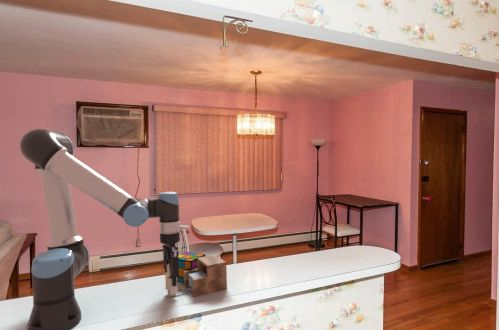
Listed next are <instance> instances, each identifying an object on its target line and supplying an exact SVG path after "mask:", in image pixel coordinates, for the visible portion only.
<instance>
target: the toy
mask: <svg viewBox="0 0 499 330" xmlns="http://www.w3.org/2000/svg"><path fill="white" fill-rule="evenodd" d="M205 256H206V253H197V252H191V251H183V252H182V253H179V255H178V262H179V277H177V283H182V284H184V271H187V270H192V269H197V258H200V257H205Z"/></svg>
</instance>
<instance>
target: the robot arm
mask: <svg viewBox="0 0 499 330" xmlns="http://www.w3.org/2000/svg"><path fill="white" fill-rule="evenodd" d="M19 143H20V144H19V149H20V152H21V154H22V155H23V157H24V158H25V159H26V160H28V161H29V162H30V163H32V164H34V169H35V171H36V172H37V173H39V175H41V181H42V187H43V193H44V195H43V196H44V201H45V207H46V214H47V220H48V226H49V233H50V241H49V242H48V243H47V244H46V245H47V247H46V248H47V250H46V251H42V252H40V253H39V254H37V255H36V256H35V257H33V259H32V263H31V270H30V271H31V281H32V300H33V301H32V302H33V303H32V304H33V306H32V309H31V312H30V315H29V319H28V322H27V330H67V329H68V330H70V329H72V328H73V326H74V327H75V326H76V324H77V323H78V324H79V323H80V322H81V321H80V320H82V311H81V308H80V306H79V303H78V301H77V298H76V297H75V279H76V278H77V277H78V276H79V274H81V273H82V272H83V271H84V269H85V268H86V266H87V265H88V262H89V261H90V260H89V259H90V251H89V249H88V246H86V245H85V242H84V237H83V236H82V235H79V234H78V228H77V222H76V221H77V219H76V214H75V213H76V212H75V206H74V199H73V193H72V187H71V186H73V187H74V188H76V189H78V190H80V191H81V192H82V193H84V194H85V195H87V196H89V197H90V198H92V199H93V200H95V201H97V202H98V203H99V204H101V205H103V206H104V207H105V208H107V209H109V210H110V211H112V212H113V213H114V214H116V215H118V216H119V217H120V218H122V219H123V221H124V223H125V224H126V225H127V226H129V227H132V228H136V227H137V228H138V227H141V226H142V225H143V224H144V223H146V222H147V221H148V219H155V218H159V223H158V225H159V232H160V233H159V242H160V244H162V254H163V259H162V262H163V263H162V264H163V267H162V268H163V270H164V272H165V274H164V275H165V290H167V291H168V286H167V264H169V267H170V277H169V279H170V295H173V294H176V295H177V294H178V293H179V291H178V289H179V288H178V282H177V277H179V262H178V255H179V254H180V252H179V250H177V246H176V244H177V243H179V242H180V240H181V238H180V237H181V234H180V233H181V232H180V225H181V221H180V202H179V194H178V192H175V191H165V192H159V193H158V197H153V198H151V197H150V198H135V197H133V196H132V195H130V194H129V193H127V192H126V191H125V190H124V189H121V188H120V187H119V186H117V185H116V184H114V183H113V182H111V181H110V180H109V179H107V178H105V177H104V176H102V175H101V174H100V173H98V172H97V171H95V170H93V169H92V168H90V167H89V166H88V165H86V164H84V163H83V162H81V161H80V160H78V159H77V158H75V157H74V156H73V154H74V144H73V142H72V139H70V138H69V137H68V136H66V135H65V134H64V133H62V132H59V131H56V130H55V131H53V130H48V129H46V128H45V129H44V128H36V129H32V130H30V131H28V132H26V133H25V134H24V135H23V136H22V138H21V139H20V141H19ZM79 321H80V322H79ZM78 324H77V325H78Z"/></svg>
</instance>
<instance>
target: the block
mask: <svg viewBox="0 0 499 330" xmlns="http://www.w3.org/2000/svg"><path fill="white" fill-rule="evenodd" d="M188 276H189V287H186V288H185V287H182V288H177V289H178V292H182V291H186V290H190V291H191V292H192V293H193V284H192V279H195V278H199V277H204V276H207V275H206V274H205V273H204V272H203V271H201V272H196V273H191V274H188ZM169 277H170V267H169V264H167V286H168V289H167V297H168V298H169V297H171V298H173V297H175V296H176V295H177V294H173V295H170V279H169Z"/></svg>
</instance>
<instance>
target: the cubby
mask: <svg viewBox="0 0 499 330" xmlns="http://www.w3.org/2000/svg"><path fill="white" fill-rule="evenodd" d="M201 271H203V272H204V273H205V274H206V275H207V276H204V277H199V278H195V279H192V284H193V292H192V297H194V298H196V297H199V296H203V295H208V294H211V293H215V292H221V291H224V290H227V289H228V281H227V279H228V278H227V277H228V275H227V261H225V260H224V259H222V258H221V257H219V256H217V255H215V254H212V255H211V254H210V255H205V257H200V258H197V269H192V270H187V271H184V283H183V288H186V287H189V276H188V274H191V273H196V272H201Z"/></svg>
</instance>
